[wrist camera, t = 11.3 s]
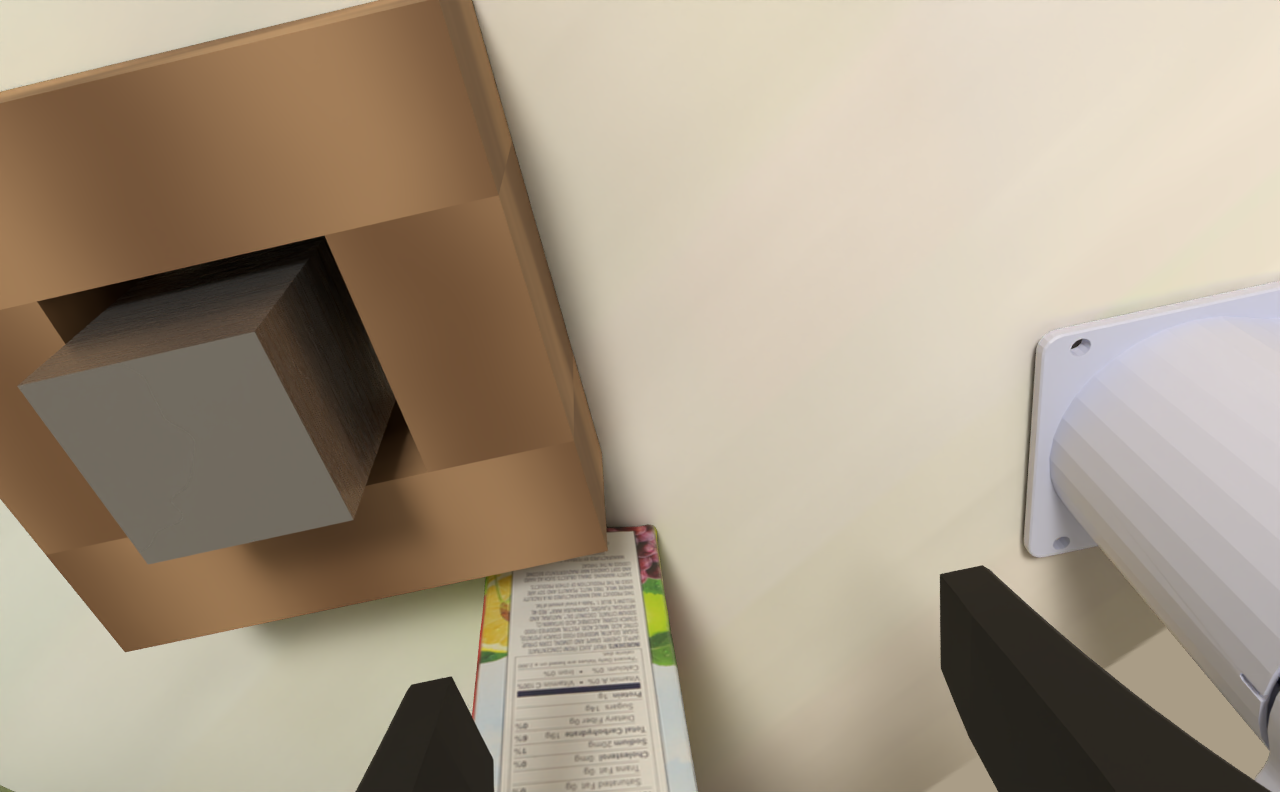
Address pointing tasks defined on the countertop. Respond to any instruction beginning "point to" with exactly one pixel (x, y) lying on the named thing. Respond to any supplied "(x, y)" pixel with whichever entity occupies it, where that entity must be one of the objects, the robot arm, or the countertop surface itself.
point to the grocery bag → (5, 789)
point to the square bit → (222, 402)
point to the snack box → (583, 675)
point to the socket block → (372, 270)
